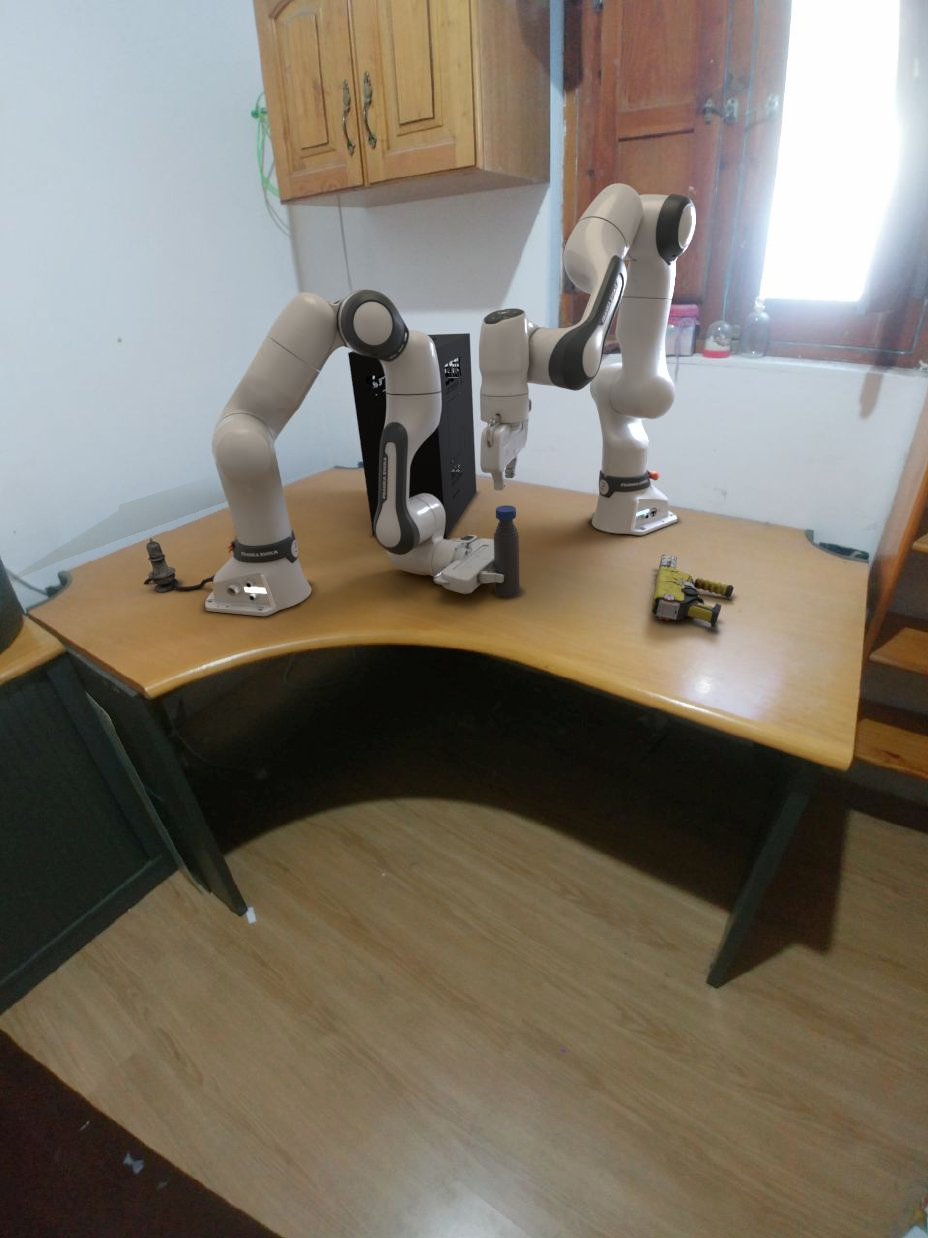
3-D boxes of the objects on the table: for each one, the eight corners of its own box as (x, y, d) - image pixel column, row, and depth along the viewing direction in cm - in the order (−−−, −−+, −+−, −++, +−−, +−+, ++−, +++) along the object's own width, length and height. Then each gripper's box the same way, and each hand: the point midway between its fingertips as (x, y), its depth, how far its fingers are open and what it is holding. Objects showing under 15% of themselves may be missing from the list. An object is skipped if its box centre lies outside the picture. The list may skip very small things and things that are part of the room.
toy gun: (733, 563, 128) (661, 551, 132) (740, 613, 108) (654, 597, 112) (728, 583, 130) (657, 571, 134) (732, 635, 110) (649, 619, 114)
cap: (520, 516, 121) (520, 507, 120) (506, 522, 118) (506, 513, 117) (505, 512, 123) (504, 503, 122) (491, 517, 121) (491, 509, 120)
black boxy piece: (446, 538, 156) (432, 350, 134) (372, 535, 161) (348, 352, 138) (476, 491, 188) (469, 333, 165) (414, 490, 192) (399, 335, 170)
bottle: (524, 591, 129) (524, 509, 120) (508, 600, 126) (507, 517, 117) (506, 584, 132) (504, 504, 123) (490, 593, 129) (487, 511, 120)
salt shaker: (170, 592, 137) (153, 544, 131) (147, 591, 138) (130, 543, 132) (185, 581, 142) (170, 533, 136) (163, 580, 143) (147, 532, 137)
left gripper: (427, 566, 123) (488, 578, 117) (474, 531, 138) (529, 540, 132) (430, 594, 126) (489, 606, 120) (475, 556, 142) (529, 566, 135)
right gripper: (505, 421, 101) (506, 501, 108) (533, 399, 118) (532, 469, 124) (470, 420, 103) (472, 499, 110) (502, 398, 119) (503, 467, 126)
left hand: (510, 571), depth 126 cm, fingers closed on bottle, 5 cm apart
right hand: (504, 483), depth 117 cm, fingers open, 6 cm apart
